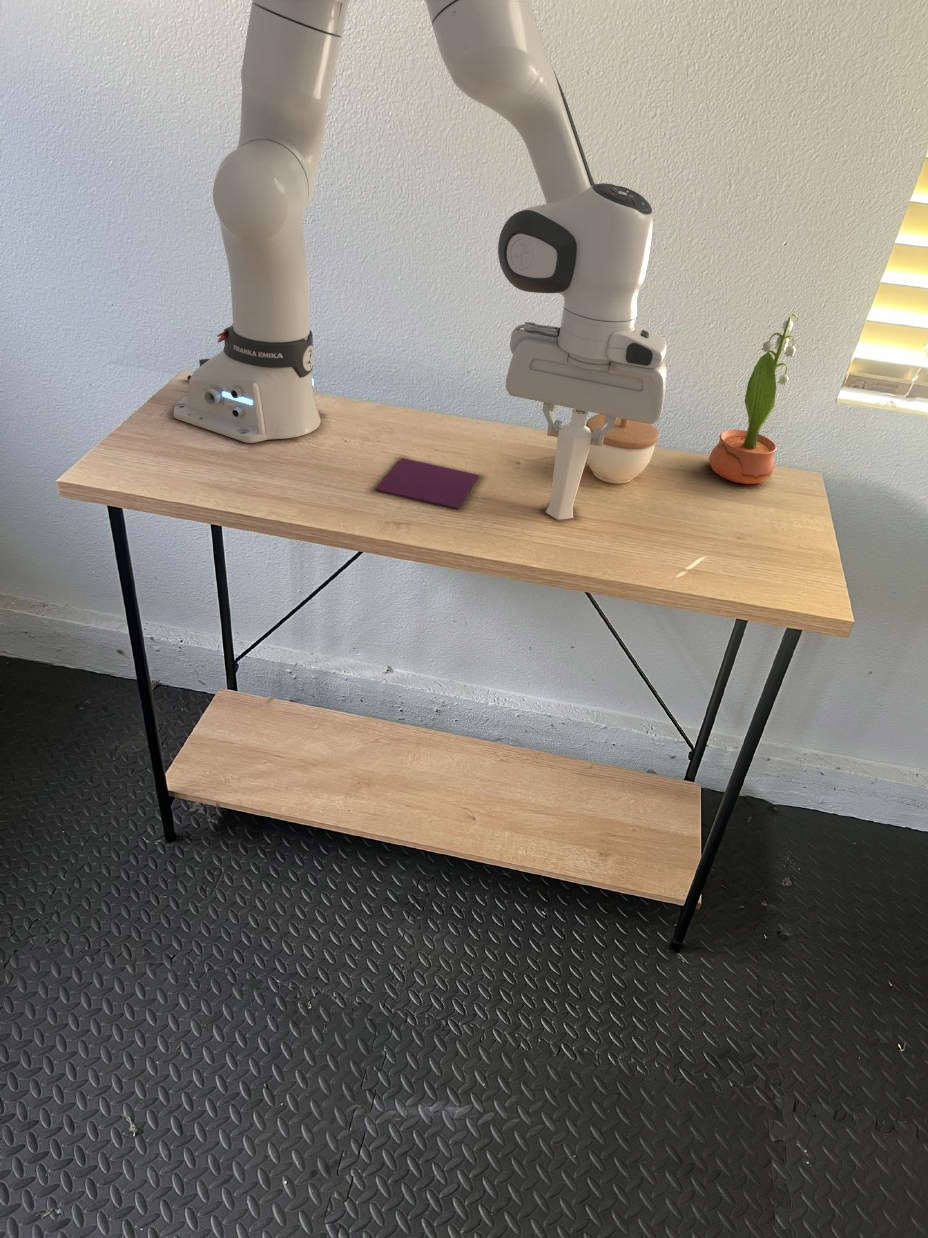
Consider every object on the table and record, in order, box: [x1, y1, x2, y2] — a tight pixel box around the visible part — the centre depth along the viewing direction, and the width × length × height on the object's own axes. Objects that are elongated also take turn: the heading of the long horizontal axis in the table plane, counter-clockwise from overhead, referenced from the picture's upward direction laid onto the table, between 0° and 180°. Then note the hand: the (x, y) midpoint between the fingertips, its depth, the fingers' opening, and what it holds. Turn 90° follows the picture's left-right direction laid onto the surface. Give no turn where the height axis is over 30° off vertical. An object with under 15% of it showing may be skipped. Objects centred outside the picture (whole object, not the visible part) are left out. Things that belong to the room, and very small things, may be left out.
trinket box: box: [585, 414, 659, 485], centre depth 128 cm, size 11×11×9 cm
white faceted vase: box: [545, 408, 592, 521], centre depth 114 cm, size 5×4×15 cm
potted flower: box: [708, 313, 800, 485], centre depth 129 cm, size 12×10×25 cm
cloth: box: [375, 457, 480, 510], centre depth 122 cm, size 12×11×1 cm
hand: (575, 439), depth 112 cm, fingers closed on white faceted vase, 4 cm apart
